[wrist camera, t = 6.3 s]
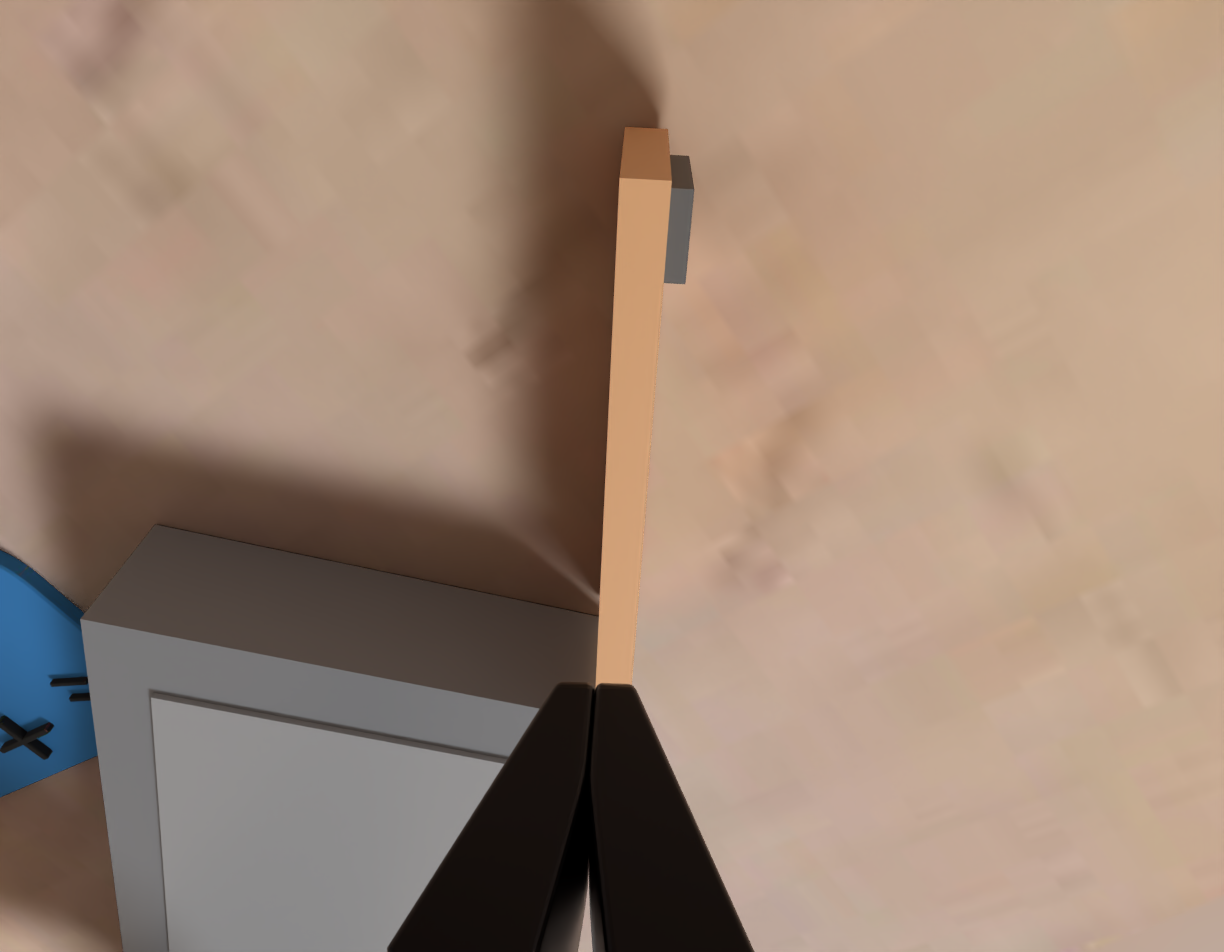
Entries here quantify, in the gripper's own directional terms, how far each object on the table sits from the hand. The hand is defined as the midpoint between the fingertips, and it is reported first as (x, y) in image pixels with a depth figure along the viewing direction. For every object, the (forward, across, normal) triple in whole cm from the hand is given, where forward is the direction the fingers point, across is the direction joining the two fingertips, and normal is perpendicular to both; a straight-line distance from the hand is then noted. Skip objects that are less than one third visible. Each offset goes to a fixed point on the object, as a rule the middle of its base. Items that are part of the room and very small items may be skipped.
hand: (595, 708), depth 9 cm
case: (+11, +8, +15) cm, 20 cm away
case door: (+11, 0, +2) cm, 11 cm away
